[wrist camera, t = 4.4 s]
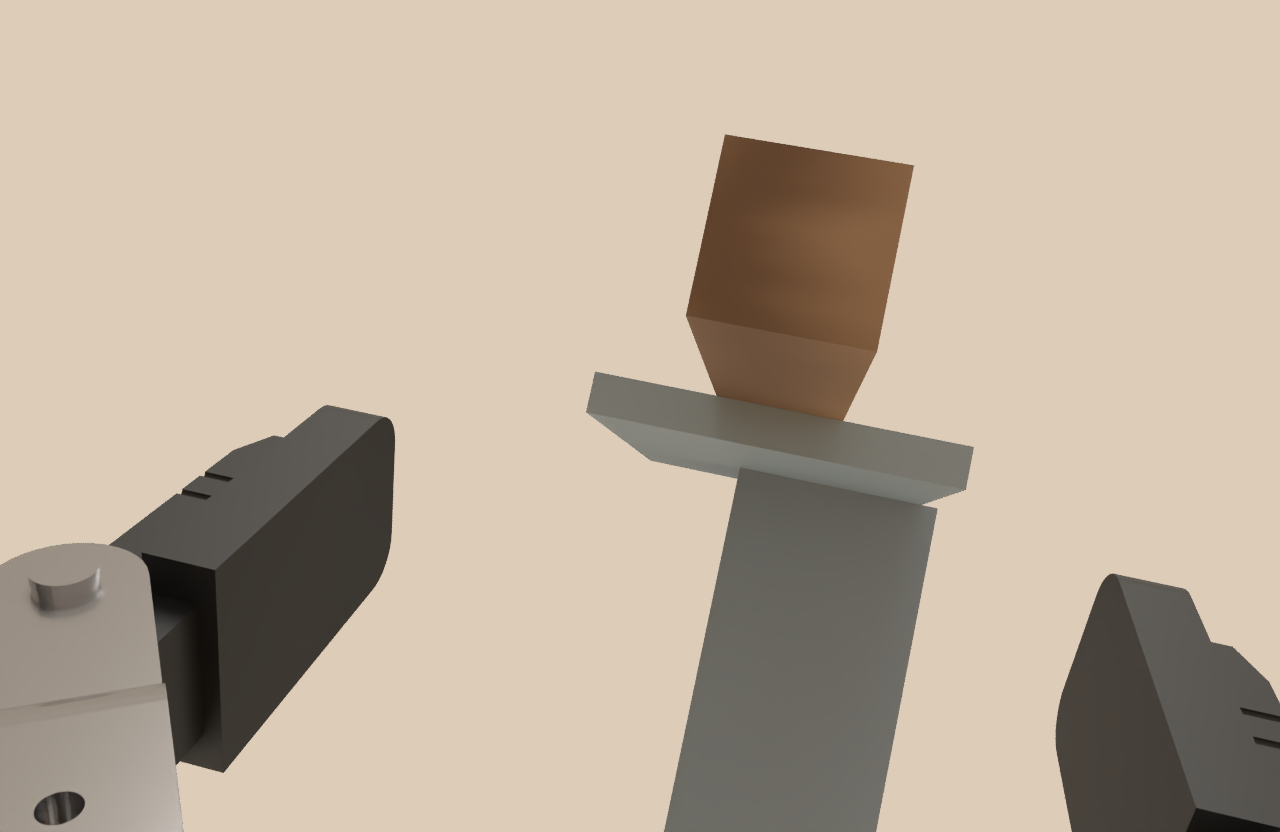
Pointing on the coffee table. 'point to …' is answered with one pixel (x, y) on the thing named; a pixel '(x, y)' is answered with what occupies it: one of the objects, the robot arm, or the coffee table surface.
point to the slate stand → (795, 603)
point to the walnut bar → (795, 273)
